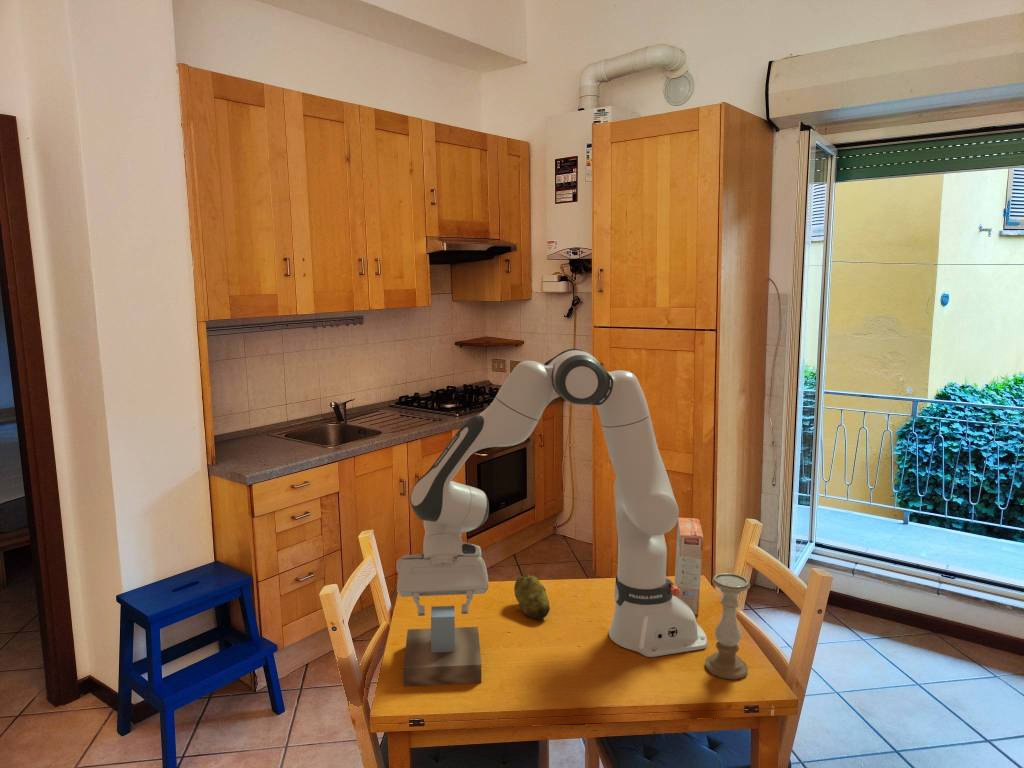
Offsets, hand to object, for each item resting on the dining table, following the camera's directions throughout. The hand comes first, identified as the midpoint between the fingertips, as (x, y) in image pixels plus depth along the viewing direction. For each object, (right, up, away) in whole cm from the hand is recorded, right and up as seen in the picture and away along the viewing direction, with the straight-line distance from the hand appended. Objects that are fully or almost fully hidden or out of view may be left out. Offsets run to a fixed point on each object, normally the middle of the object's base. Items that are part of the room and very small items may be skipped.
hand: (443, 614), depth 151 cm
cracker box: (+60, -7, +30) cm, 68 cm away
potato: (+20, -8, +25) cm, 33 cm away
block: (0, -7, 0) cm, 7 cm away
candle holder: (+61, -12, 0) cm, 62 cm away
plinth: (0, -11, +1) cm, 11 cm away
